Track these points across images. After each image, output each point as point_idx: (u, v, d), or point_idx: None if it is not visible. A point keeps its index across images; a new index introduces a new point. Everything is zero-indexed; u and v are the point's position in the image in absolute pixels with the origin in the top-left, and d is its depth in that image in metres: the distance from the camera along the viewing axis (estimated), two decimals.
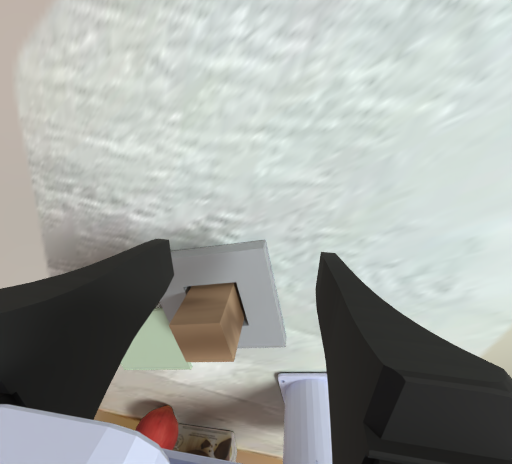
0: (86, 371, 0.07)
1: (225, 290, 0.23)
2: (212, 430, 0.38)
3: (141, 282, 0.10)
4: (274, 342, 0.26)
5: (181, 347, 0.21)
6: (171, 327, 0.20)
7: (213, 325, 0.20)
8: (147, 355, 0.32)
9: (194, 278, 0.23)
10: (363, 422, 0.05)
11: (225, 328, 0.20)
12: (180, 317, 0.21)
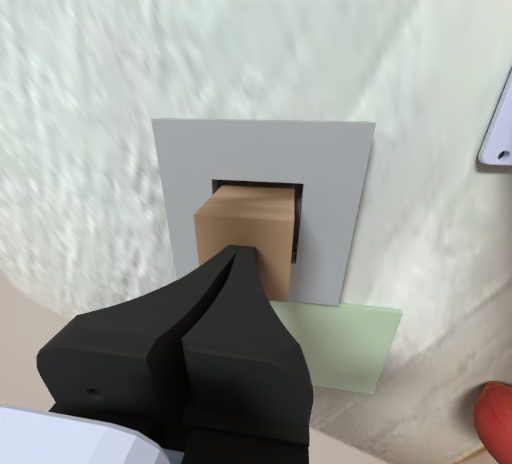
0: None
1: None
2: None
3: None
4: (355, 143, 0.13)
5: None
6: None
7: (200, 228, 0.11)
8: (352, 355, 0.21)
9: None
10: (190, 394, 0.05)
11: (223, 211, 0.11)
12: None
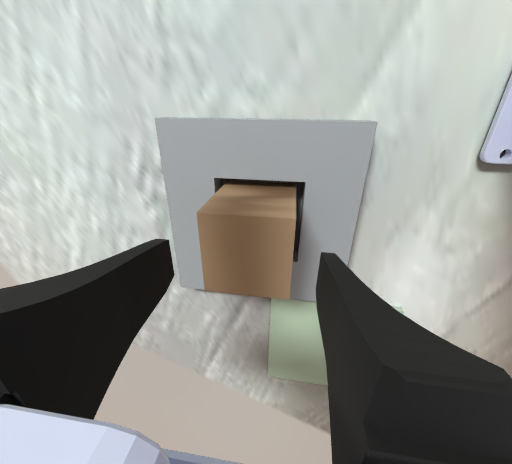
0: (86, 371, 0.07)
1: None
2: None
3: (142, 282, 0.10)
4: (357, 142, 0.13)
5: (252, 292, 0.13)
6: (208, 288, 0.13)
7: (203, 225, 0.12)
8: None
9: None
10: (363, 422, 0.05)
11: (225, 209, 0.12)
12: None
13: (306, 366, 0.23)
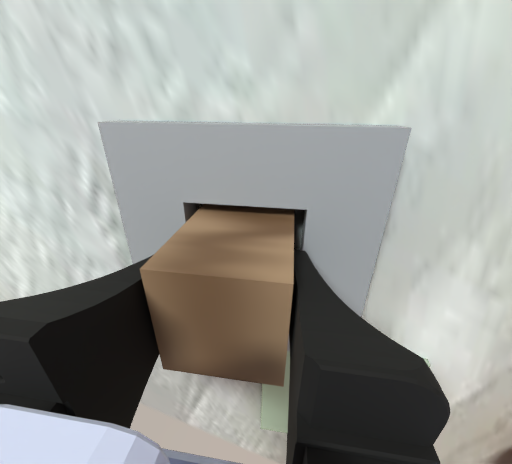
0: (125, 377, 0.07)
1: None
2: None
3: None
4: (380, 157, 0.09)
5: (231, 375, 0.09)
6: (168, 366, 0.09)
7: (152, 287, 0.08)
8: None
9: None
10: (296, 411, 0.05)
11: (186, 262, 0.08)
12: None
13: None
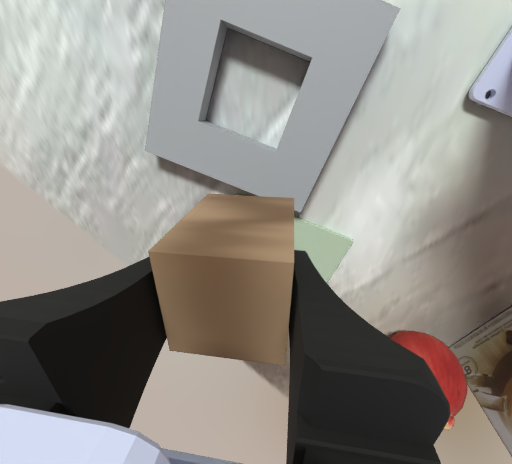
0: (125, 377, 0.07)
1: None
2: (501, 315, 0.21)
3: None
4: (374, 26, 0.13)
5: (234, 355, 0.09)
6: (175, 348, 0.10)
7: (159, 269, 0.08)
8: None
9: (191, 91, 0.15)
10: (297, 411, 0.05)
11: (192, 245, 0.08)
12: None
13: None
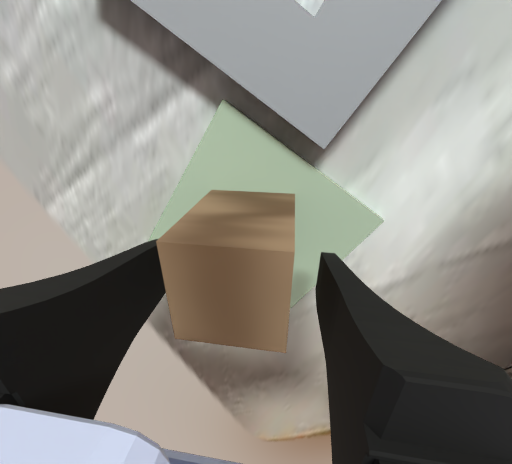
0: (86, 371, 0.07)
1: None
2: None
3: (141, 282, 0.10)
4: None
5: (237, 342, 0.10)
6: (180, 336, 0.10)
7: (166, 258, 0.08)
8: None
9: None
10: (363, 422, 0.05)
11: (197, 236, 0.08)
12: None
13: None
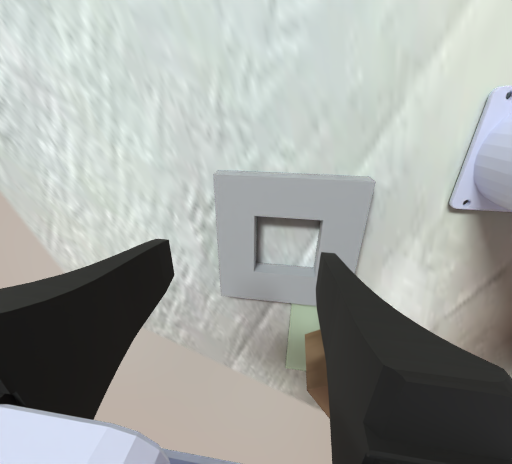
0: (86, 371, 0.07)
1: None
2: None
3: (142, 282, 0.10)
4: (361, 194, 0.18)
5: None
6: None
7: (313, 394, 0.21)
8: None
9: (244, 256, 0.22)
10: (363, 422, 0.05)
11: (319, 380, 0.21)
12: None
13: None
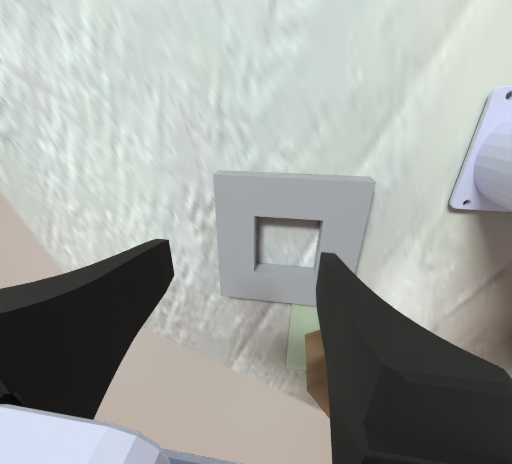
0: (86, 371, 0.07)
1: None
2: None
3: (142, 282, 0.10)
4: (361, 194, 0.18)
5: None
6: None
7: (313, 394, 0.21)
8: None
9: (244, 256, 0.22)
10: (363, 422, 0.05)
11: (319, 380, 0.21)
12: None
13: None
